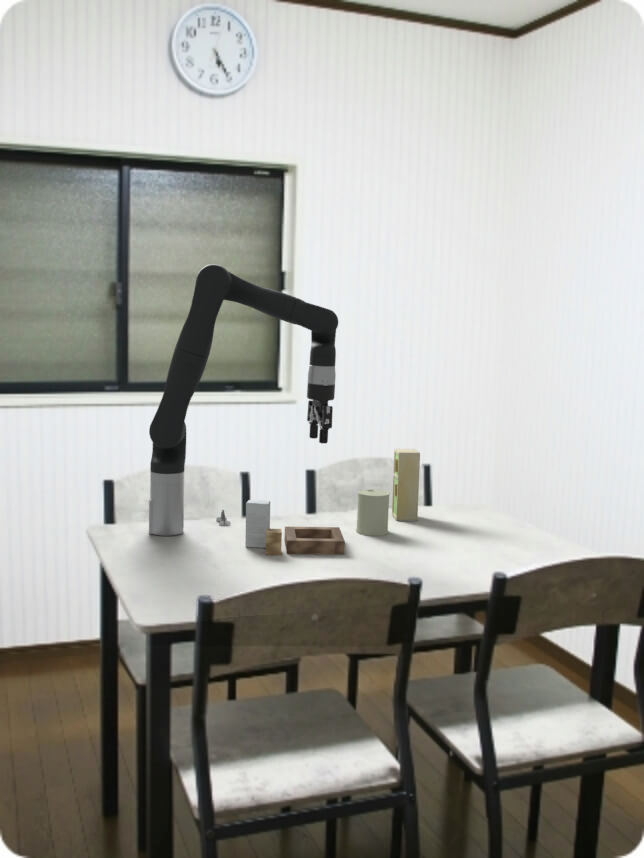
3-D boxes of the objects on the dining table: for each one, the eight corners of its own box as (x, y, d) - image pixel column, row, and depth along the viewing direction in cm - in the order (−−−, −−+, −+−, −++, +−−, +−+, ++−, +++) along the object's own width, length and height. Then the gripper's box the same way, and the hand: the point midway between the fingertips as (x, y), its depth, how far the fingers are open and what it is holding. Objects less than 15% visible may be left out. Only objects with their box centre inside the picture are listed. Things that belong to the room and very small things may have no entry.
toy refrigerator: (388, 514, 288) (392, 448, 285) (412, 515, 288) (415, 448, 286) (393, 520, 280) (396, 452, 277) (417, 521, 281) (420, 452, 278)
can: (380, 527, 271) (382, 487, 270) (393, 535, 262) (395, 493, 261) (351, 528, 268) (353, 488, 267) (362, 536, 260) (364, 494, 258)
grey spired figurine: (209, 522, 272) (209, 507, 271) (231, 521, 274) (231, 507, 273) (218, 535, 257) (219, 519, 257) (242, 534, 259) (242, 518, 259)
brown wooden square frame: (286, 553, 239) (287, 540, 239) (284, 538, 254) (284, 526, 253) (344, 554, 240) (344, 541, 240) (338, 539, 255) (339, 527, 255)
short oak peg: (265, 555, 237) (266, 532, 236) (265, 551, 241) (265, 528, 240) (281, 555, 237) (281, 532, 237) (280, 551, 241) (281, 528, 241)
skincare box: (269, 544, 248) (271, 500, 246) (267, 548, 243) (268, 504, 242) (247, 543, 248) (248, 499, 247) (244, 547, 244) (245, 502, 242)
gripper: (300, 379, 258) (297, 436, 260) (316, 384, 245) (313, 444, 247) (325, 380, 261) (322, 436, 263) (343, 385, 247) (339, 444, 249)
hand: (318, 440), depth 255 cm, fingers open, 8 cm apart
